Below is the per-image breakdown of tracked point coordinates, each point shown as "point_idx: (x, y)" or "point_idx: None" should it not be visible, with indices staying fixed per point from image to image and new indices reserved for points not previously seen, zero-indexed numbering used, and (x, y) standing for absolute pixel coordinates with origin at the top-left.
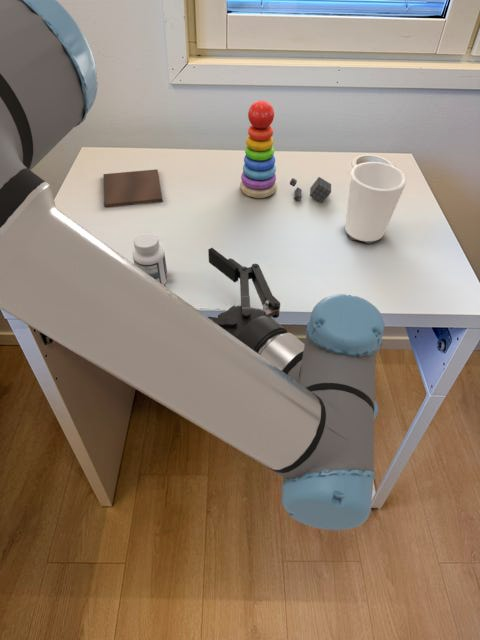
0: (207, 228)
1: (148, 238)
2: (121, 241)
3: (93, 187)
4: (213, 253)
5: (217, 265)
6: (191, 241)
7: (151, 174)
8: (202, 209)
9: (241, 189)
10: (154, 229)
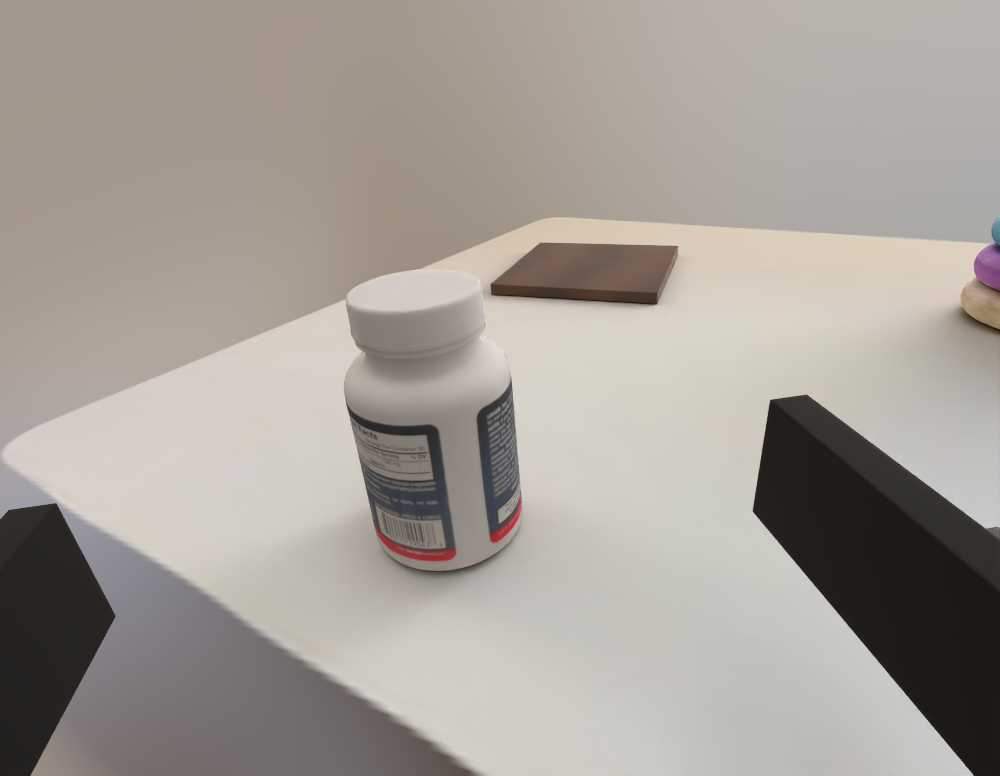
0: (793, 393)
1: (430, 285)
2: None
3: (501, 262)
4: (812, 436)
5: (827, 558)
6: (705, 420)
7: (656, 252)
8: (788, 338)
9: (967, 305)
10: (586, 359)
